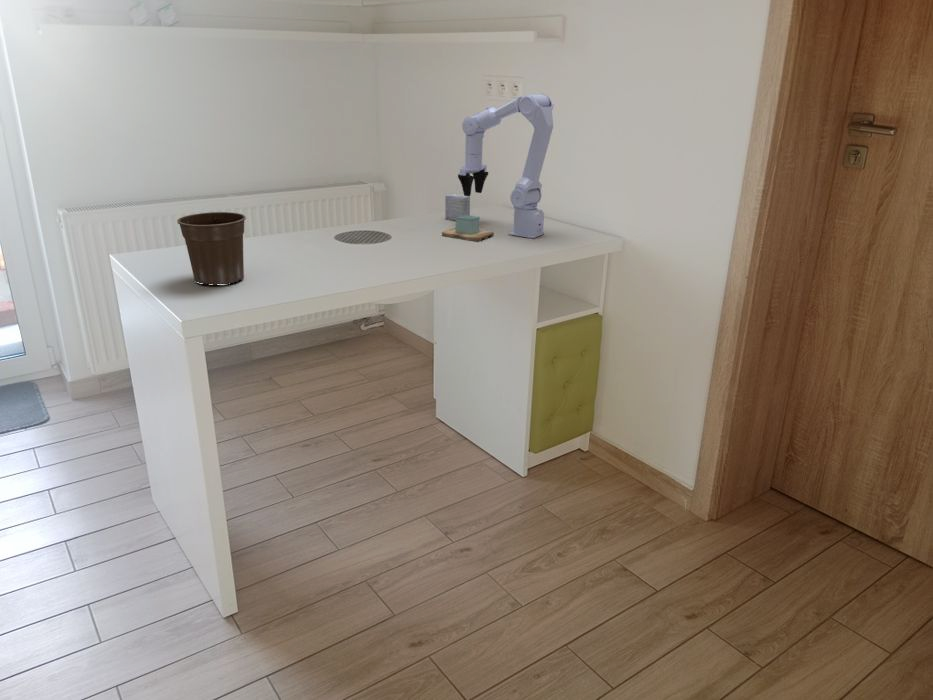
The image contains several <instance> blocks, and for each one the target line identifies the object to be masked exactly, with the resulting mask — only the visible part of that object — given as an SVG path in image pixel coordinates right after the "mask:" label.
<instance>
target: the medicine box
mask: <svg viewBox="0 0 933 700" xmlns="http://www.w3.org/2000/svg"><path fill="white" fill-rule="evenodd" d="M444 198H445V207H444V208H445V216H444V217H445V220H449V221H455V222H456V219H455V217H458V216H461V215H470V216H471V214H470V213H471V195H470V196H464V194H458V193H450V194H447V195H445V197H444Z"/></svg>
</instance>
